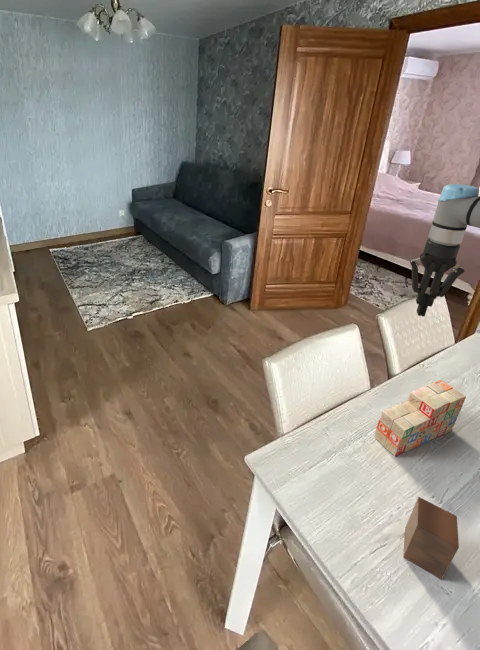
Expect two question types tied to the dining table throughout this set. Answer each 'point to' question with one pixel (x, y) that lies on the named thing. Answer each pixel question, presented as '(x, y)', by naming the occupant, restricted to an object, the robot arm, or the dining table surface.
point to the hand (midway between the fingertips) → (420, 313)
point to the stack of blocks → (419, 417)
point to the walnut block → (431, 537)
